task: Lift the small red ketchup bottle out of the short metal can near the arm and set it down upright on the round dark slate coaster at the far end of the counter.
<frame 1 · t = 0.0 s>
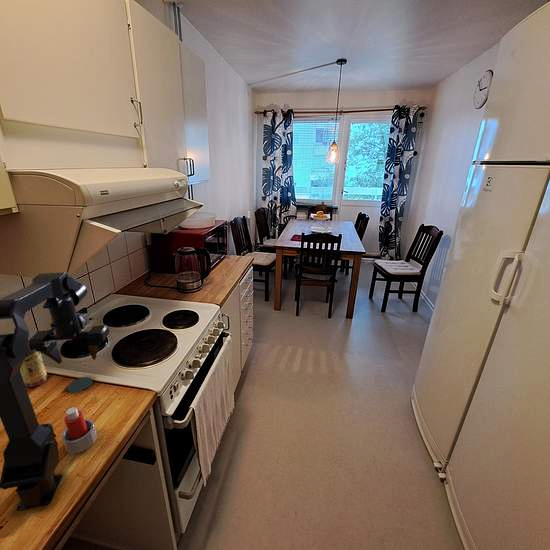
hand: (77, 360, 85), 15 cm above the worktop, tool pointing down, fingers open, 9 cm apart
short metal can: (82, 442, 76), on the worktop
ketchup: (81, 441, 76), resting on short metal can
coaster: (80, 385, 95), on the worktop
sauce bottle: (37, 381, 97), on the worktop
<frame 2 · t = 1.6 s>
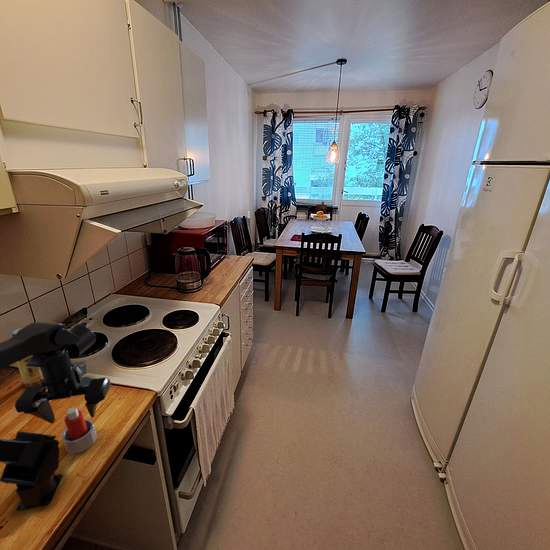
hand: (73, 419, 73), 9 cm above the worktop, tool pointing down, fingers open, 9 cm apart
nothing on the worktop moved.
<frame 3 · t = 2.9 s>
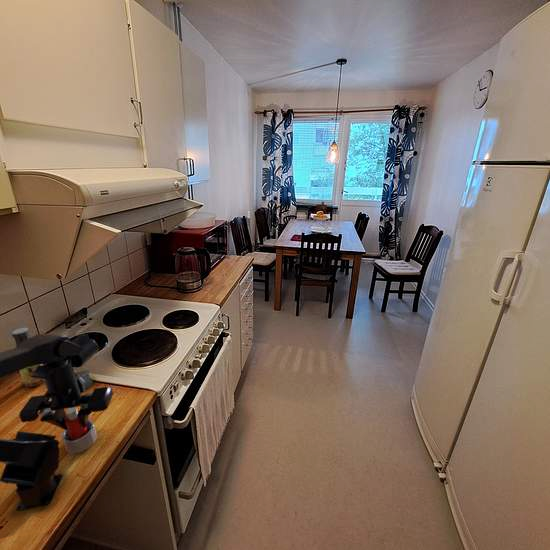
hand: (77, 427, 74), 6 cm above the worktop, tool pointing down, fingers closed on ketchup, 4 cm apart
ketchup: (81, 441, 76), resting on short metal can, touching gripper
everything else where it was.
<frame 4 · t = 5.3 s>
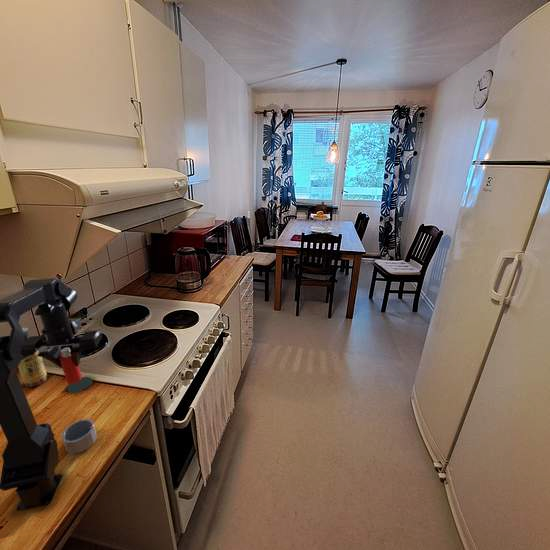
hand: (70, 366, 85), 13 cm above the worktop, tool pointing down, fingers closed on ketchup, 4 cm apart
ketchup: (74, 379, 86), point 8 cm above the worktop, touching gripper
everything else where it was.
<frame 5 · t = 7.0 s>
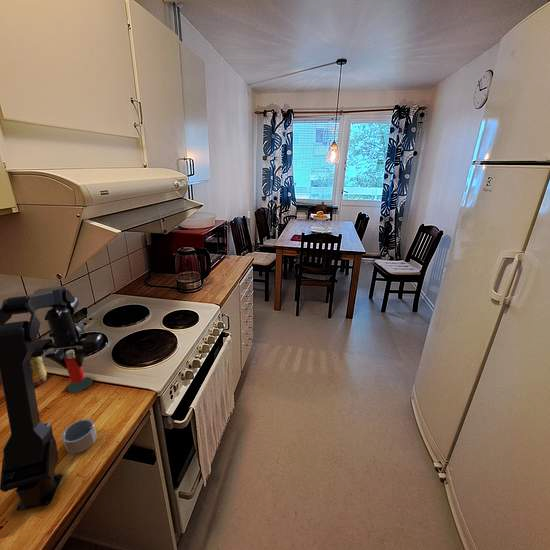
hand: (74, 366, 92), 8 cm above the worktop, tool pointing down, fingers closed on ketchup, 4 cm apart
ketchup: (78, 379, 94), point 3 cm above the worktop, touching gripper
everything else where it was.
when the fingers open (5 cm above the worktop, at t = 8.1 s): ketchup stays where it is, resting on coaster.
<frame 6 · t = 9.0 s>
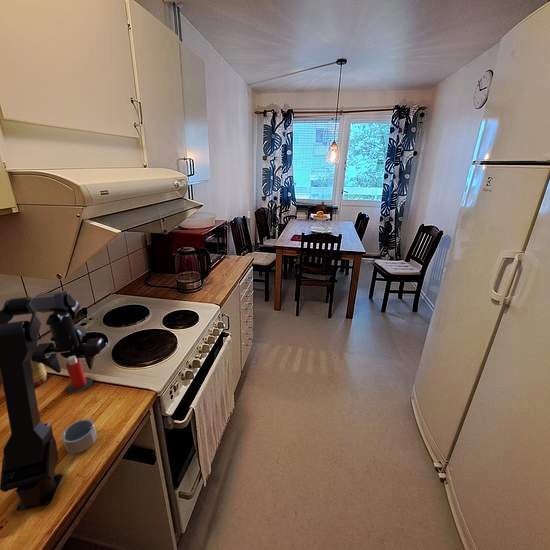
hand: (75, 370, 93), 6 cm above the worktop, tool pointing down, fingers open, 9 cm apart
ketchup: (79, 384, 95), resting on coaster
everything else where it was.
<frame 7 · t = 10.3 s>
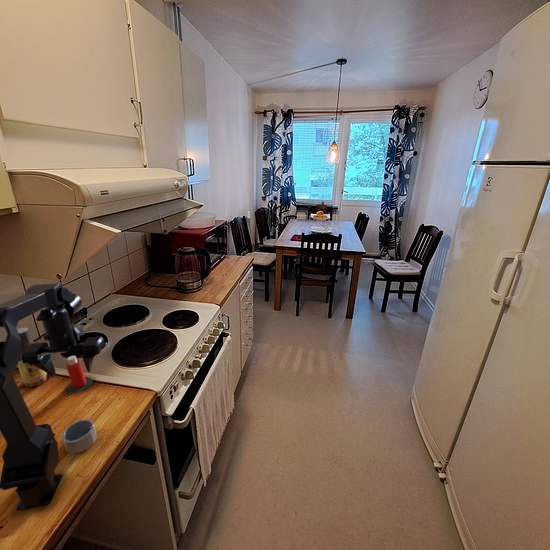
hand: (72, 373, 83), 13 cm above the worktop, tool pointing down, fingers open, 9 cm apart
nothing on the worktop moved.
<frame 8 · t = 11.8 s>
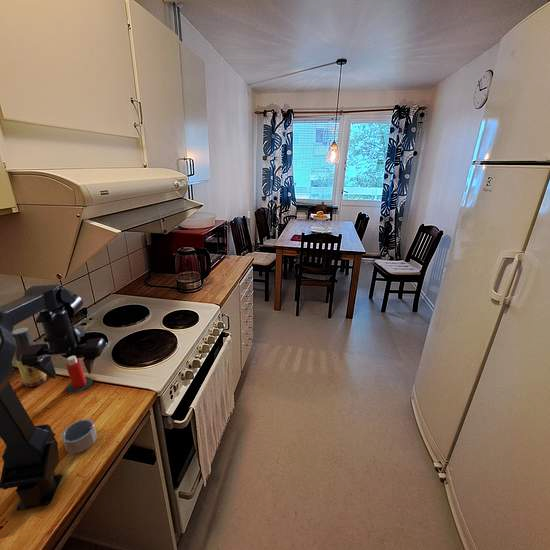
hand: (72, 375, 82), 13 cm above the worktop, tool pointing down, fingers open, 9 cm apart
nothing on the worktop moved.
at the end: ketchup 0.0 cm off-centre on the coaster, point 0.4 cm above the coaster's base; ketchup tilted 0°; the gripper is holding nothing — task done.
